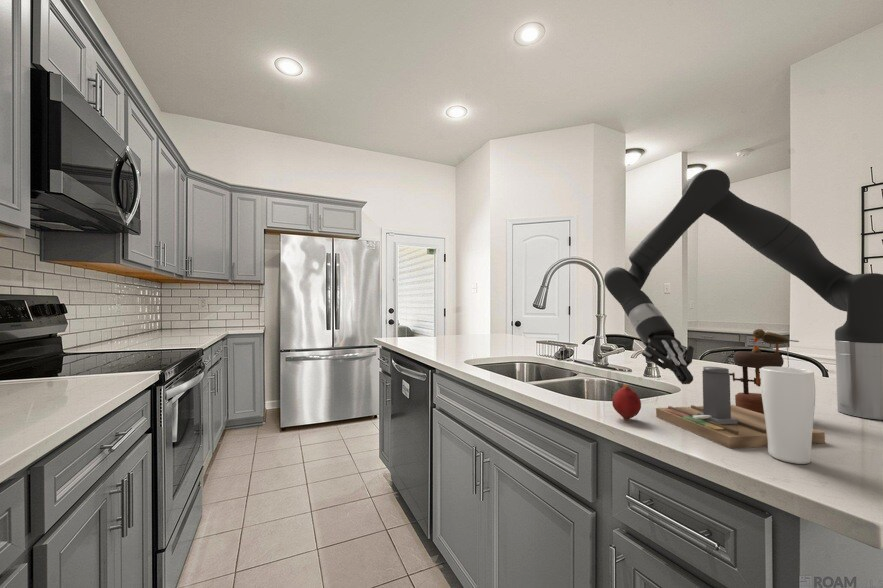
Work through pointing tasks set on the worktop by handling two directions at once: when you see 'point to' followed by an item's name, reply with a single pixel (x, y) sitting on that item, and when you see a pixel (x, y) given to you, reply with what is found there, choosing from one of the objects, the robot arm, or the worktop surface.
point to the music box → (757, 368)
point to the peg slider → (716, 396)
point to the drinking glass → (788, 412)
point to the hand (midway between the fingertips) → (688, 382)
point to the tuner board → (726, 426)
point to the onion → (626, 402)
